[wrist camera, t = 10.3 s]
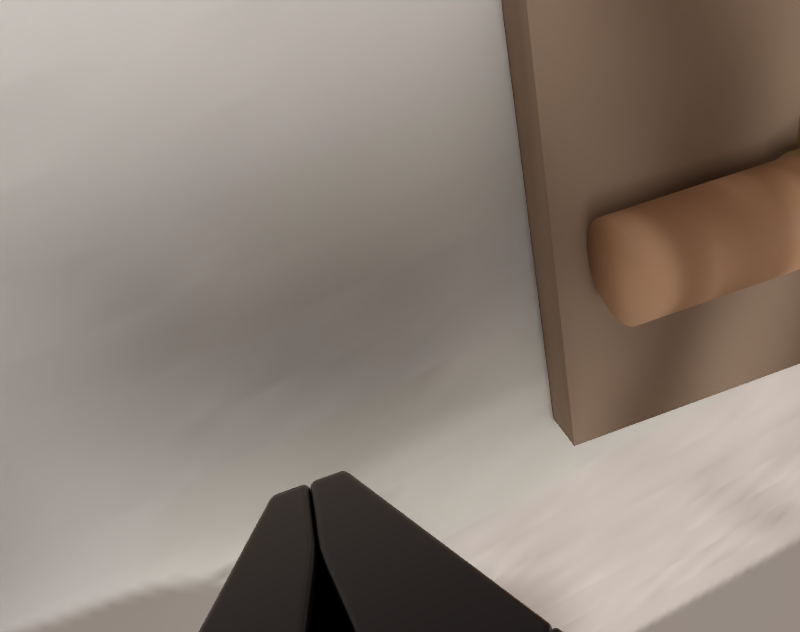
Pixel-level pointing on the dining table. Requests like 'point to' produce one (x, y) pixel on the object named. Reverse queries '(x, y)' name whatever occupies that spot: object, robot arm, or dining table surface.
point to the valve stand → (659, 197)
